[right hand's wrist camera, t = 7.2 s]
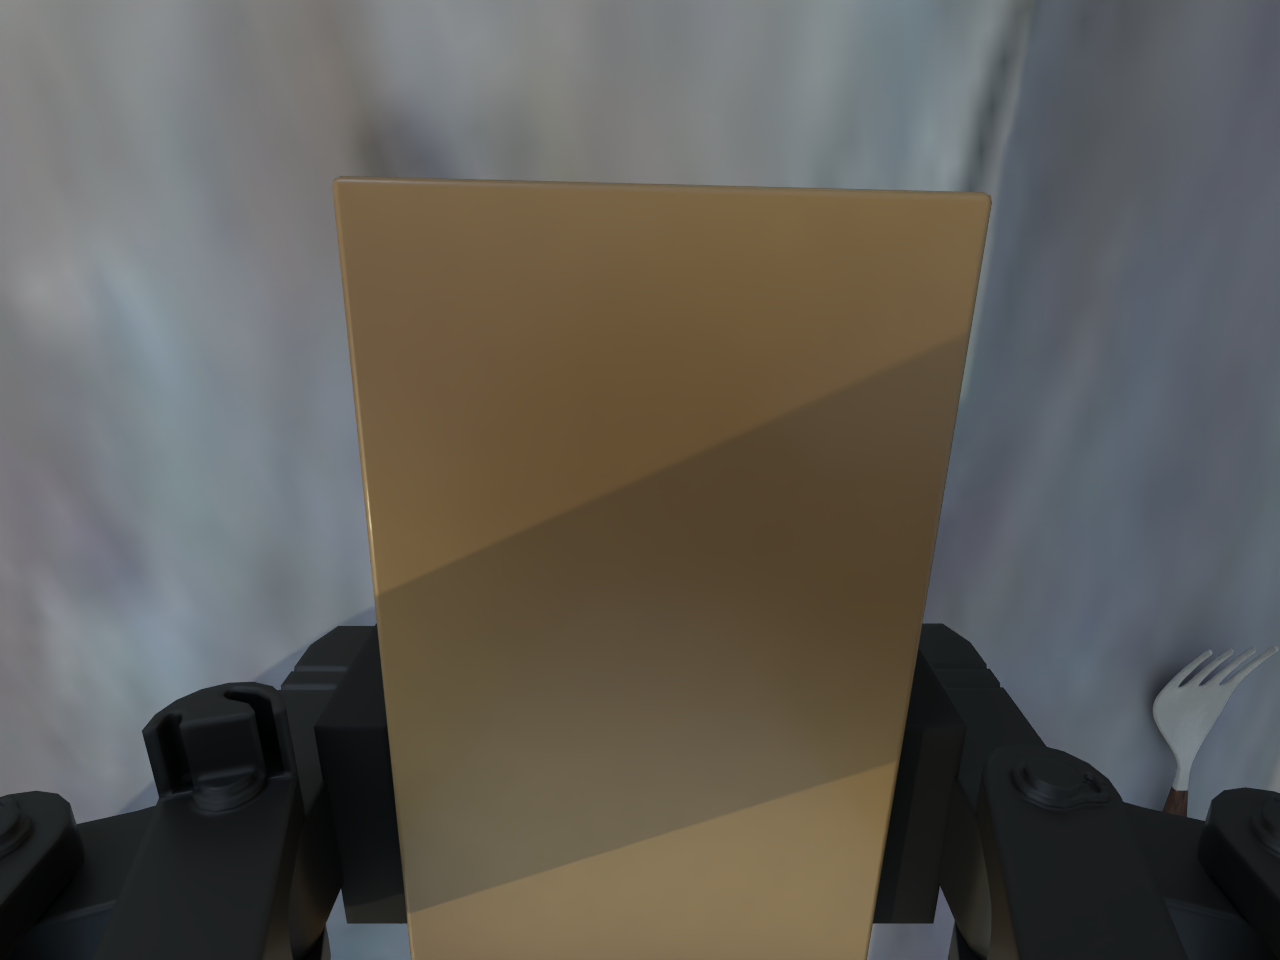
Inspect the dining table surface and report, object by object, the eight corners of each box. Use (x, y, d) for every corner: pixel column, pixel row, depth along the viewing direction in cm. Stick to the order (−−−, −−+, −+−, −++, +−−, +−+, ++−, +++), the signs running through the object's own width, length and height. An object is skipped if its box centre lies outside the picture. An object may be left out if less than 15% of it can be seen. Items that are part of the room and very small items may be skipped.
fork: (1104, 959, 33) (1133, 1005, 31) (1165, 620, 27) (1204, 652, 25) (1167, 955, 33) (1200, 1002, 31) (1241, 616, 27) (1286, 647, 25)
